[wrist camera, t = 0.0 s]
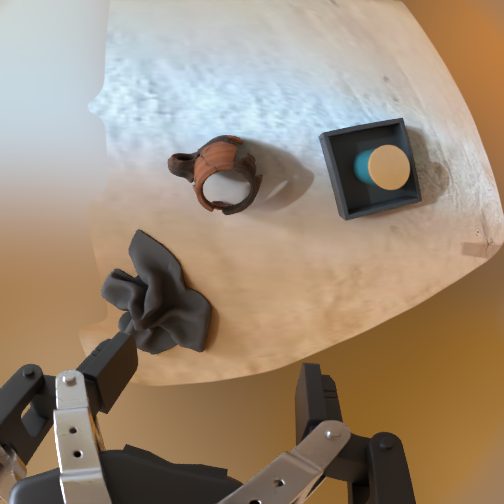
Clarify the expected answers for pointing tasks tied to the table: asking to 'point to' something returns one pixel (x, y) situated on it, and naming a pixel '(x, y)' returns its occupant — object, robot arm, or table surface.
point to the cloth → (157, 300)
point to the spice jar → (382, 167)
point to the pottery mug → (216, 170)
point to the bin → (345, 183)
